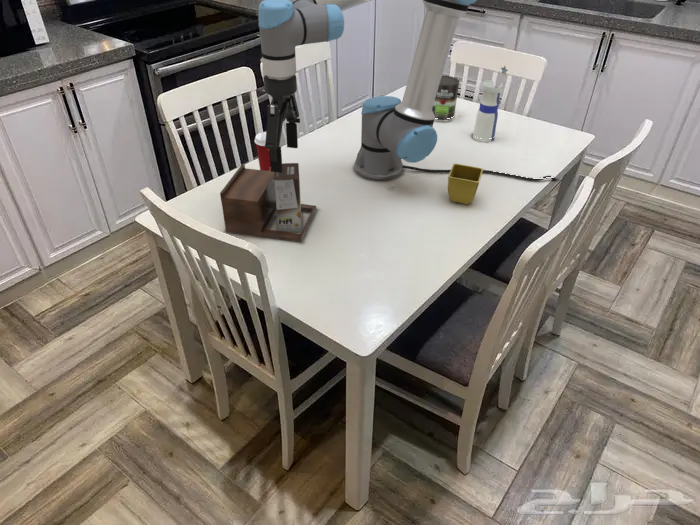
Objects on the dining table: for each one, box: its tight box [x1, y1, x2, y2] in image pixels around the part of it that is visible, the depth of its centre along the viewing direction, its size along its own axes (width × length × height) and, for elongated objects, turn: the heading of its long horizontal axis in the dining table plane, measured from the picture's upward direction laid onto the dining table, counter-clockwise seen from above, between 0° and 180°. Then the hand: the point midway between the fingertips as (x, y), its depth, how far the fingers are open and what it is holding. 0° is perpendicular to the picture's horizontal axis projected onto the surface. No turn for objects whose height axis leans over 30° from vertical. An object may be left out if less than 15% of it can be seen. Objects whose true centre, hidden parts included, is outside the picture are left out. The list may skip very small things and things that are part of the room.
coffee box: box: [274, 162, 302, 233], centre depth 143 cm, size 9×6×16 cm
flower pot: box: [447, 163, 484, 205], centre depth 156 cm, size 9×9×9 cm
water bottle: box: [472, 65, 509, 143], centre depth 185 cm, size 8×9×25 cm
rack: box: [219, 163, 317, 243], centre depth 145 cm, size 21×16×12 cm
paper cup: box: [254, 131, 271, 171], centre depth 163 cm, size 8×8×14 cm
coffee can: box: [432, 75, 460, 123], centre depth 202 cm, size 10×10×14 cm
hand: (284, 159), depth 136 cm, fingers open, 13 cm apart
